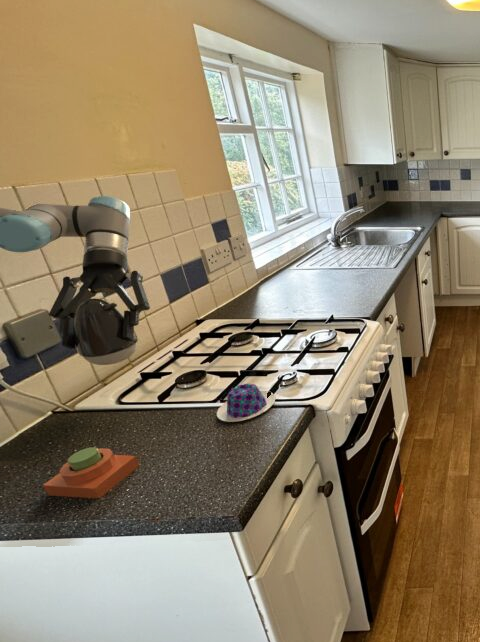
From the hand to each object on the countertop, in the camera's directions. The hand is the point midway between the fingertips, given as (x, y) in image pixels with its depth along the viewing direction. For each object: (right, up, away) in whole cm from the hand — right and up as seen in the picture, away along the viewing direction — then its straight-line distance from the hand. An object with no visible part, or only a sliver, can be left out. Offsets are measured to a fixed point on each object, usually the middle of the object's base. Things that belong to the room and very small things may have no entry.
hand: (98, 342), depth 91 cm
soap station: (+13, -25, -14) cm, 31 cm away
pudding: (+29, -16, +7) cm, 34 cm away
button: (+13, -21, -15) cm, 29 cm away
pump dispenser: (-1, -5, +5) cm, 7 cm away
